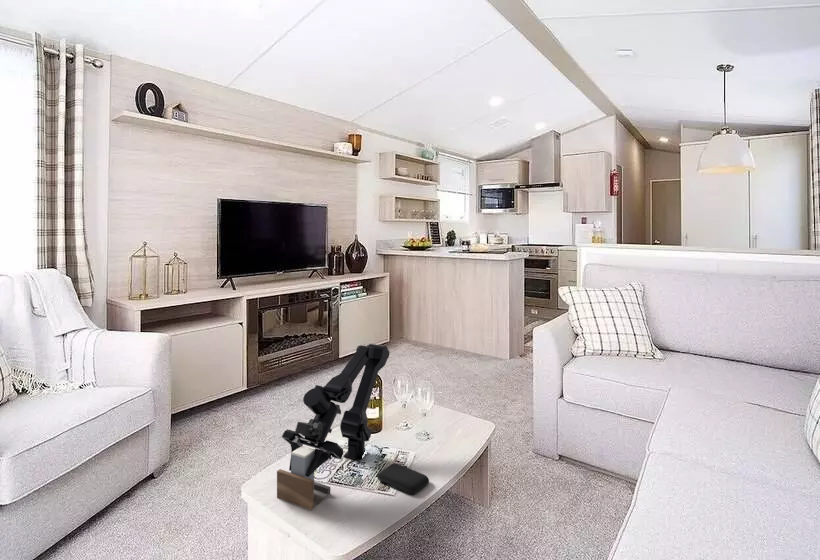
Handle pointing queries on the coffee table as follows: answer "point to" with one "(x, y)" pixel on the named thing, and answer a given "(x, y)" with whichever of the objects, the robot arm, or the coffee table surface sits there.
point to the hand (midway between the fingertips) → (298, 473)
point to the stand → (300, 490)
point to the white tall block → (302, 461)
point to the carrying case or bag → (403, 478)
